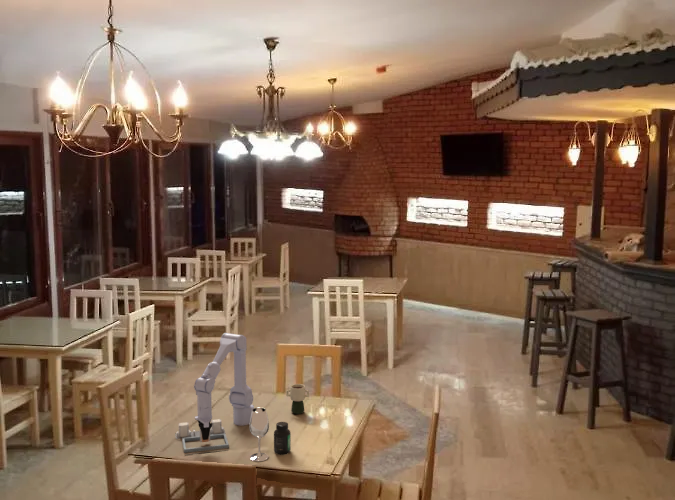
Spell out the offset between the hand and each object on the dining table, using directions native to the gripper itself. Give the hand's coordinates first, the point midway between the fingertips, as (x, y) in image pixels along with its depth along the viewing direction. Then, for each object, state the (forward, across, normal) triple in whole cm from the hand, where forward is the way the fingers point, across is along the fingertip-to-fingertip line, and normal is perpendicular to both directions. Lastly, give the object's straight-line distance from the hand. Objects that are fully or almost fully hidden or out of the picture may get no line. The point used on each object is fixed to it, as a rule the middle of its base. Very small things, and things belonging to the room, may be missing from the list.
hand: (205, 437), depth 280 cm
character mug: (+4, -28, +46) cm, 54 cm away
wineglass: (+4, +16, +20) cm, 26 cm away
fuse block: (+4, -12, -1) cm, 13 cm away
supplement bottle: (+4, +13, +30) cm, 33 cm away
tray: (+4, 0, 0) cm, 4 cm away
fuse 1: (+3, -12, -8) cm, 15 cm away
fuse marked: (+1, 0, 0) cm, 1 cm away
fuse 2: (+3, -12, +6) cm, 14 cm away
